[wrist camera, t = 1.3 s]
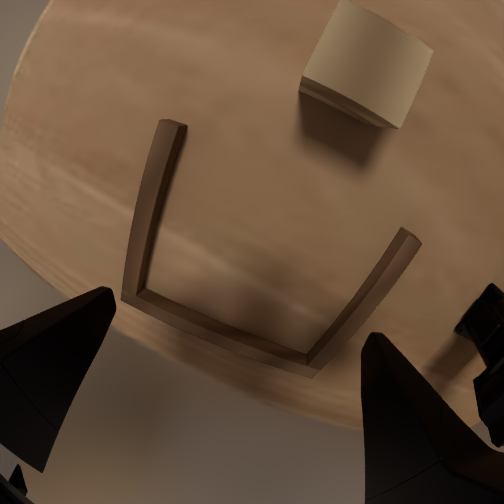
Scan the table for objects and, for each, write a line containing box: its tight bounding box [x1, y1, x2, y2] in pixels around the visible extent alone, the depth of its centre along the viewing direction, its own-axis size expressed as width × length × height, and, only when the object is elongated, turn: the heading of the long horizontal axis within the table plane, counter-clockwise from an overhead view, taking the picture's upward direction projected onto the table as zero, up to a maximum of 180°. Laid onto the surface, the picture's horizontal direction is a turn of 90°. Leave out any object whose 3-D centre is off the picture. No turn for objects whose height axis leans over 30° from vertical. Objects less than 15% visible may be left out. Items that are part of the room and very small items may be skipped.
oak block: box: [298, 0, 433, 129], centre depth 11 cm, size 5×5×6 cm
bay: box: [121, 119, 422, 378], centre depth 21 cm, size 20×16×2 cm
